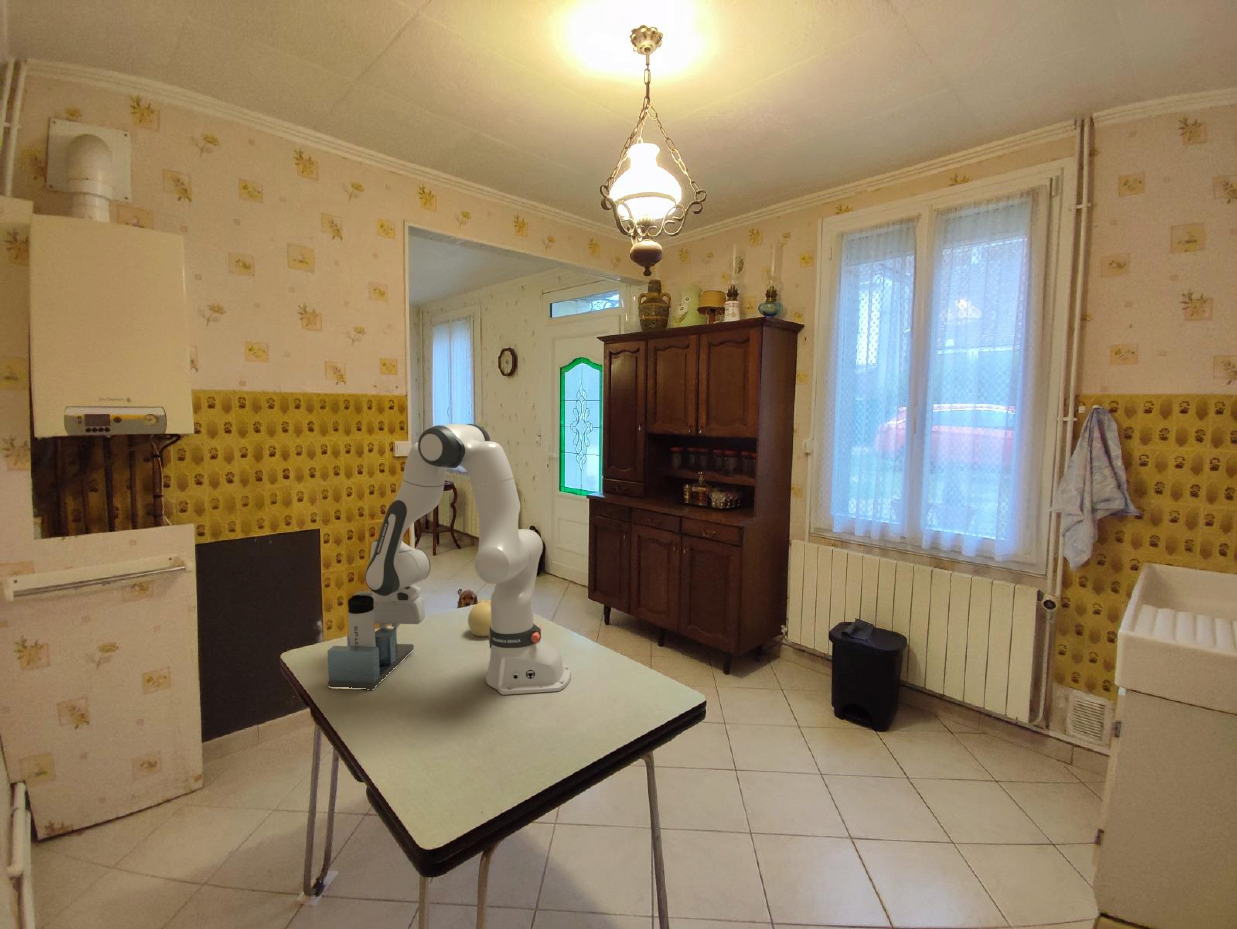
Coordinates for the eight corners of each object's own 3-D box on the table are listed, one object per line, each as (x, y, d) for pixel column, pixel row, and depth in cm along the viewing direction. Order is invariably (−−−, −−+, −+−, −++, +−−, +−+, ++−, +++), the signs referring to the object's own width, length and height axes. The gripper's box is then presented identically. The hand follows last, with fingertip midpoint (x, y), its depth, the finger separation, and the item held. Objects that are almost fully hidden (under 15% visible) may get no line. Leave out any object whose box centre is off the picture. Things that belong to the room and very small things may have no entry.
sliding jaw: (368, 647, 164) (367, 621, 163) (408, 648, 163) (407, 622, 162) (348, 663, 153) (347, 636, 152) (391, 665, 152) (389, 637, 151)
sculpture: (513, 630, 182) (513, 598, 181) (487, 643, 172) (486, 609, 171) (488, 623, 188) (487, 592, 187) (461, 635, 178) (460, 602, 177)
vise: (374, 649, 167) (373, 617, 166) (413, 650, 166) (412, 618, 166) (328, 689, 143) (326, 651, 142) (373, 690, 143) (371, 652, 142)
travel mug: (369, 662, 154) (366, 592, 152) (381, 669, 150) (377, 597, 148) (346, 670, 149) (342, 597, 147) (357, 678, 145) (354, 603, 143)
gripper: (347, 594, 160) (350, 640, 162) (417, 595, 159) (418, 642, 160) (359, 587, 167) (361, 632, 168) (426, 588, 165) (427, 633, 166)
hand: (390, 637), depth 164 cm, fingers closed
